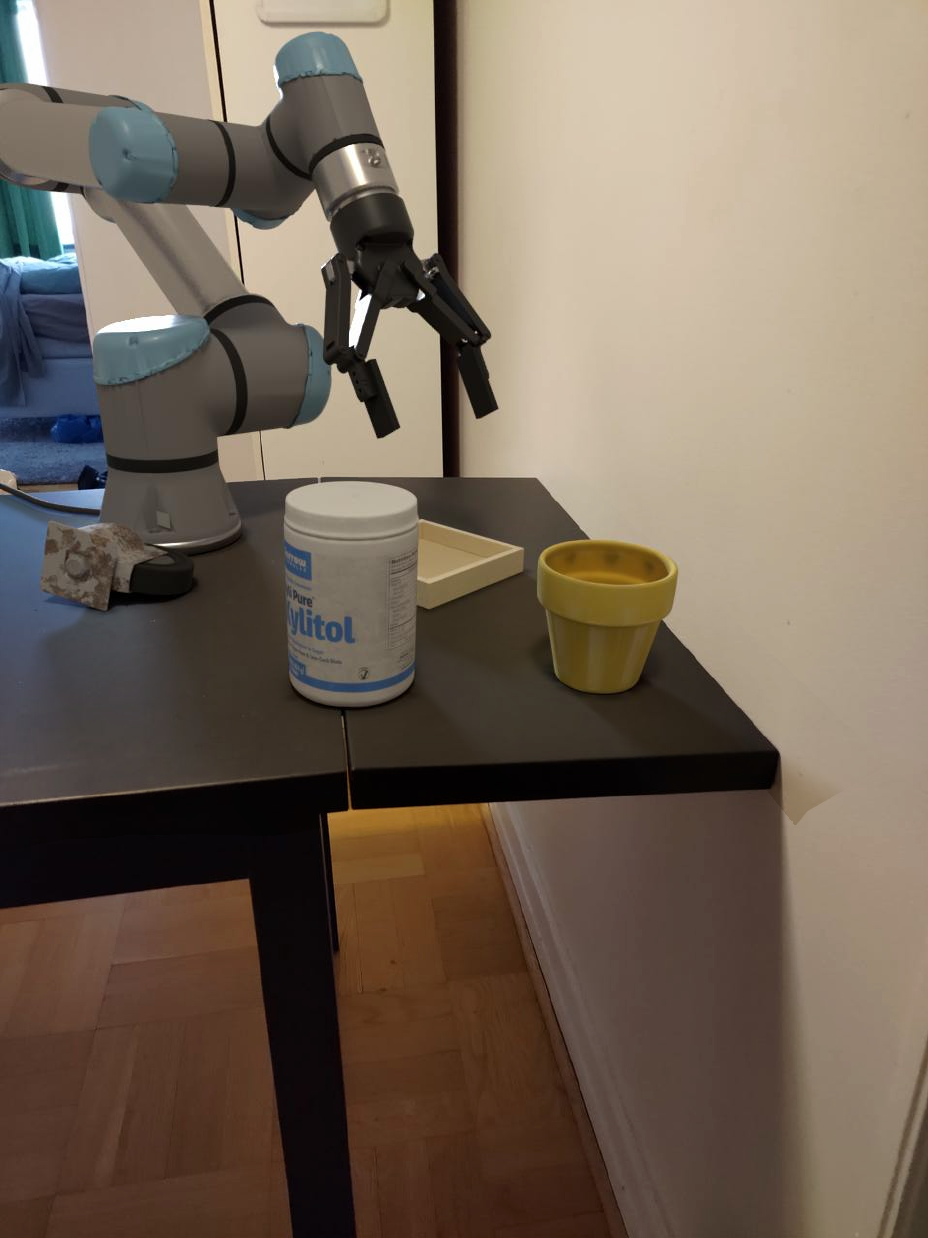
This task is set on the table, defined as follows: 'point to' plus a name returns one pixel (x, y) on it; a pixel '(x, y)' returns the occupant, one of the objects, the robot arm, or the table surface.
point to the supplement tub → (351, 591)
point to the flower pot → (603, 609)
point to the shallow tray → (460, 563)
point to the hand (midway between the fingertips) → (441, 423)
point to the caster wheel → (109, 564)
